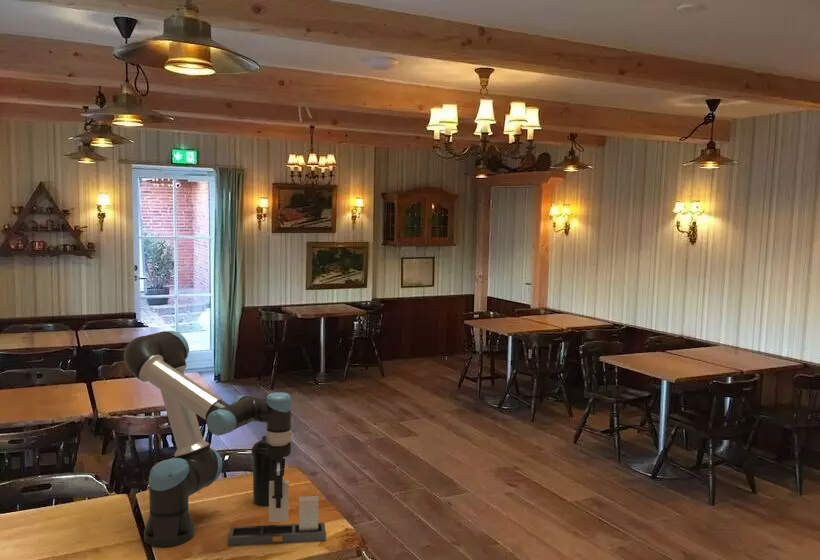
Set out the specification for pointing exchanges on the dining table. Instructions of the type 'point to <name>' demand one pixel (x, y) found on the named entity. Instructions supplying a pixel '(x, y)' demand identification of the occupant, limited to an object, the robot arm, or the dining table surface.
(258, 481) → the water bottle
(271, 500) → the block
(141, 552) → the dining table surface
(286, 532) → the rack
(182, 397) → the robot arm
